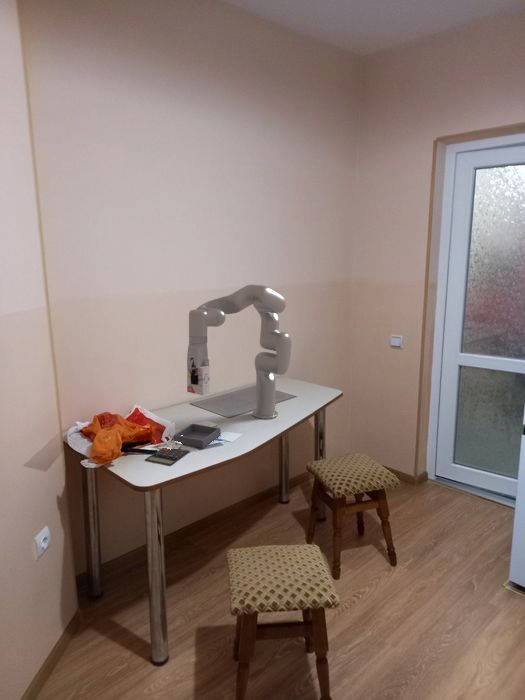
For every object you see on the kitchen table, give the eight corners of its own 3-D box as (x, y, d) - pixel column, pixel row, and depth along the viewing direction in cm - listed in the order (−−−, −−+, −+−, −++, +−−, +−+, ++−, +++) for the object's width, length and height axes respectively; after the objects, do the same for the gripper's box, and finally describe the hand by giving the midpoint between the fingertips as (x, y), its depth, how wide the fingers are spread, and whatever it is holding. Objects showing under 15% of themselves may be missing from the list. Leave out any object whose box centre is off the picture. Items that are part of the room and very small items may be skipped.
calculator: (190, 450, 204) (170, 464, 190) (190, 452, 204) (170, 467, 190) (165, 445, 208) (144, 459, 194) (165, 447, 208) (144, 461, 194)
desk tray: (192, 431, 226) (192, 423, 226) (220, 436, 221) (220, 428, 221) (173, 443, 212) (173, 435, 211) (202, 449, 207) (203, 440, 206)
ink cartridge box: (186, 392, 213) (186, 357, 210) (194, 389, 217) (193, 355, 214) (202, 395, 208) (202, 360, 205) (210, 392, 212) (210, 358, 209)
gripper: (200, 335, 217) (200, 376, 221) (179, 342, 202) (179, 386, 205) (215, 337, 215) (215, 378, 218) (195, 344, 199) (195, 388, 203)
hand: (198, 382), depth 212 cm, fingers closed on ink cartridge box, 5 cm apart
